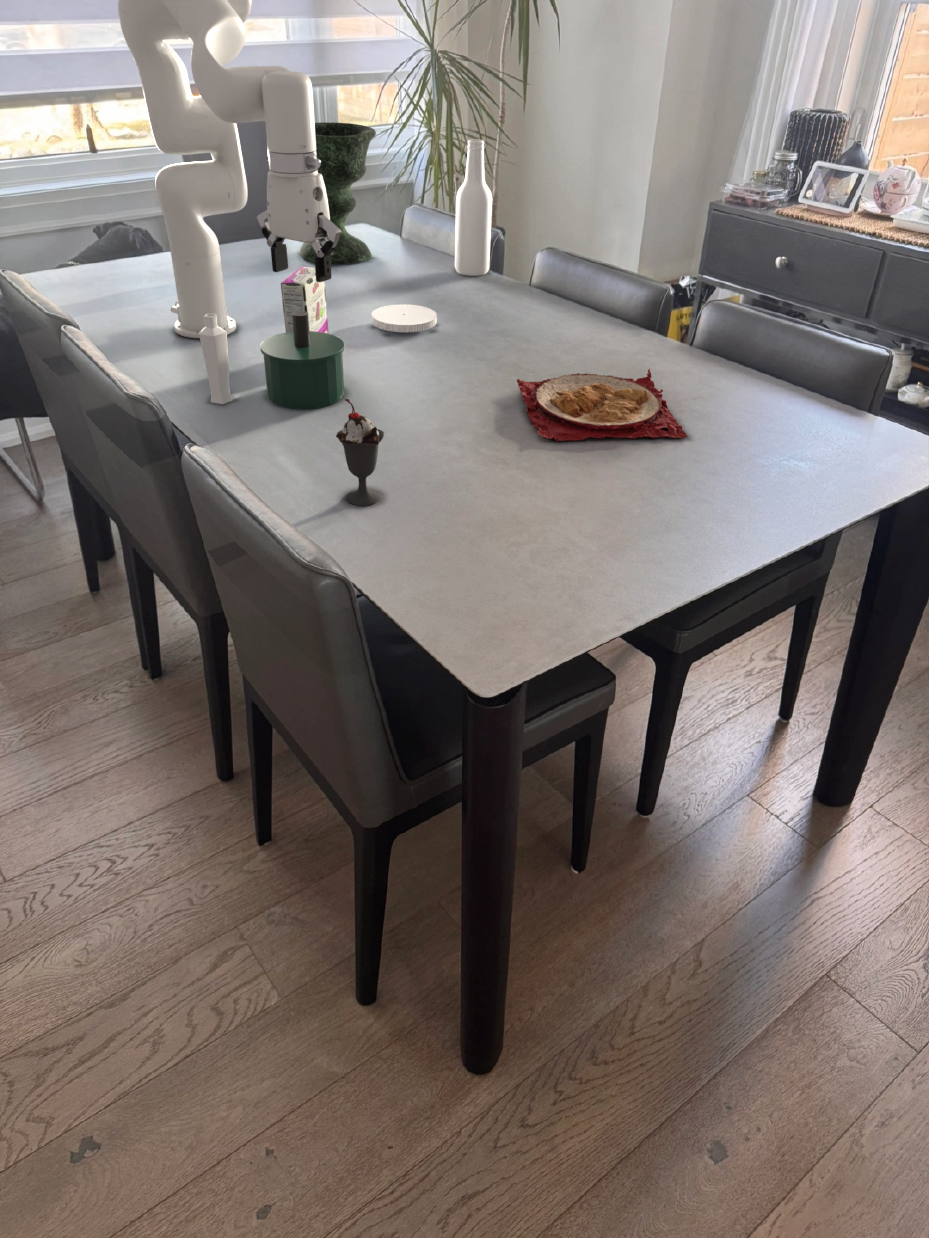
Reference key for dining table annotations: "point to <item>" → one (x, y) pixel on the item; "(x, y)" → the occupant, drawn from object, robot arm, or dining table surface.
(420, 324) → the plastic lid
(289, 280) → the candy bar box
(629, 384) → the plate with food
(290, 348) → the lid
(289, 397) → the tin
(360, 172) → the goblet
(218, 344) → the perfume bottle
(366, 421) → the sundae
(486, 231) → the alcohol
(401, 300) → the dining table surface
